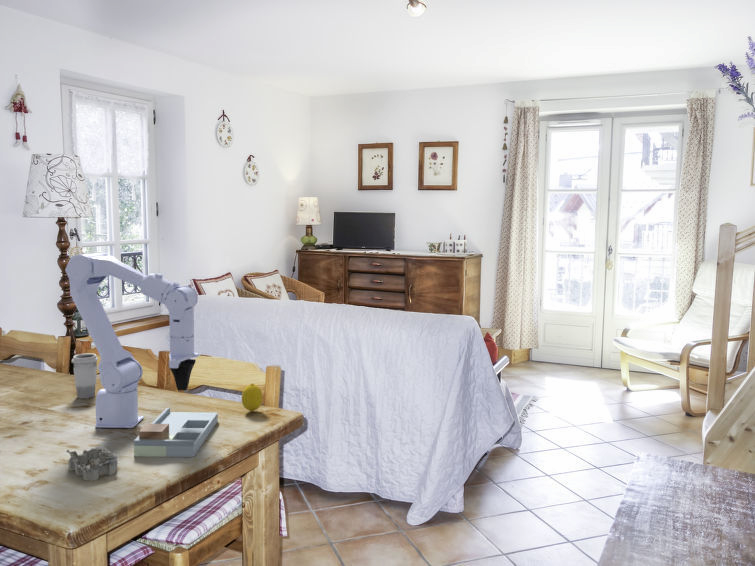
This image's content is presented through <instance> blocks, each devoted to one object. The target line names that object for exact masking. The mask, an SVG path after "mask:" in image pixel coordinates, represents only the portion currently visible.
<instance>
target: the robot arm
mask: <svg viewBox="0 0 755 566" xmlns="http://www.w3.org/2000/svg"><path fill="white" fill-rule="evenodd" d="M67 262H68V263H67V264H66V267H65V270H64V271H65V274H66V275H67V277H68V280H69V292H70V297H71V299H72V300H73V303H74V304H75V307H76V309H77V311H78V314H79V315H80V317H81V319H82V321H83V323H84V326H85V327H86V329H87V331H88V332H87V333H88V334H89V335H90V339H92V342H93V344H94V346H95V348H96V350H97V353H98V354H99V357H100V360H99V362H98V364H97V370H98V372H99V380H100V384H101V386H102V387H103V388H100V389H99V390H98V391H97V394H96V395H95V396H96V398H95V425H94V428H105V429H106V428H110V429H111V428H112V429H114V428H115V429H116V428H117V429H124V428H125V429H133V428H135V426H137V425H138V424H139V422H141V421H142V420H143V419H144V417H145V416H144V415H139V404H138V401H139V399H138V396H139V395H138V393H139V392H138V386H139V381H140V380H141V379H142V377H143V371H144V370H143V367H142V365H141V364H140V362H139V361H137V359H136V358H135V357H134V355H133V353H131V352H130V351H129V350H126V349H125V348H124V347H123V346H122V343H121V342H120V340H119V338H118V336H117V334H116V332H115V329H114V327H113V325H112V323H111V321H110V318H109V316H108V315H107V313H106V311H105V309H104V306H103V304H102V303H101V300H100V297H99V295H98V293H97V292H98V290H99V287H100V285H102V283H103V282H104V280H106V278H107V277H109V276H111V277H114V278H117V279H119V280H121V281H124V282H127V283H128V284H131V285H133V286H135V287H138V288H139V289H140V292H141V294H142V295H144V296H146V297H148V298H150V299H152V300H154V301H157V302H159V303H161V304H163V305H164V306H165V308H166V309H167V310H168V315H169V316H168V317H169V354H168V357H169V360H168V368H169V370H170V371H171V373H172V375H173V379H174V381H175V382H174V383H175V386H176V389H177V391H187V390H188V388H189V383H190V378H191V375H192V372H193V368H194V366H195V364H196V363H197V362H196V359H193V358H198V357H200V353H199V352H195V317H194V315H195V310H194V309H195V308H194V307H195V306H197V304H198V300H199V296H198V294H197V291H195V289H194V288H192V287H191V286H189V285H183V286H181V285H180V283H179V282H177V281H175V282H173V281H170V280H169V279H167V278H165V277H163V276H164V275H163V274H162V273H160V272H159V273H158V272H157V273H150V274H145V273H143V272H141V271H139V270H138V269H135V268H133V267H132V266H130V265H128V264H126V263H124V262H122V261H121V260H119V259H117V257H115V256H113V255H108V254H107V253H104V252H96V253H88V254H87V253H85V254H83V253H82V254H75V255H73V256H72V257H70V259H69V261H67Z"/></svg>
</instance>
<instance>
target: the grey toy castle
mask: <svg viewBox="0 0 755 566" xmlns="http://www.w3.org/2000/svg"><path fill="white" fill-rule="evenodd" d="M65 453H68V454H69V456H70V458H69V459H68V460H67V465H68V470H69V471H74V472H75V475H77V476H81V475H82V479H83V480H84V481H88V480H91V481H95V480H99V477H100V476H105V475H108V476H109V475H110V476H111V475H114V474H115V473H116V471H118V458H119V456H118V455H116V454H115V453H114V452H113V451H110V450H108V449H107V448H106V446H98V447H94V448H93V447H92V448H90V450H86V449H83V451H82V453H81V454H78V453H77V451H76V450H73V451H70V450H69V449H67V450H66V451H65ZM88 462H89V463H90V464H88ZM86 464H87V465H86Z"/></svg>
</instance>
